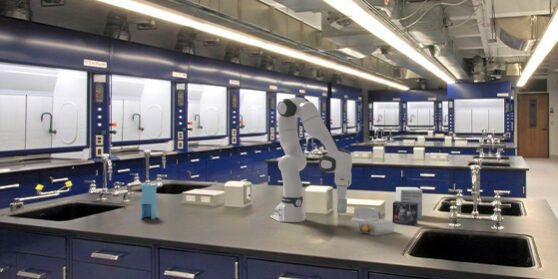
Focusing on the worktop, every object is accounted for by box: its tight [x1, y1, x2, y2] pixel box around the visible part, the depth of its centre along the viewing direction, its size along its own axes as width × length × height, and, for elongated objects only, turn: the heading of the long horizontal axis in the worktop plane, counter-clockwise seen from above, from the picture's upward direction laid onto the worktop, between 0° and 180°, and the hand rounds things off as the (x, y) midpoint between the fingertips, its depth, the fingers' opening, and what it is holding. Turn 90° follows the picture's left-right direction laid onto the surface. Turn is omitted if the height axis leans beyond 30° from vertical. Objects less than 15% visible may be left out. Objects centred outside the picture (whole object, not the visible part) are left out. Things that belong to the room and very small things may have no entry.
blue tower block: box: [139, 183, 159, 220], centre depth 272 cm, size 8×8×20 cm
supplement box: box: [395, 186, 423, 220], centre depth 280 cm, size 13×13×18 cm
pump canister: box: [336, 198, 348, 214], centre depth 243 cm, size 5×5×8 cm
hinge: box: [350, 206, 382, 224], centre depth 261 cm, size 17×5×10 cm, turn 55°
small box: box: [391, 200, 418, 226], centre depth 261 cm, size 13×7×12 cm, turn 62°
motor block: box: [358, 218, 395, 237], centre depth 239 cm, size 12×17×6 cm
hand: (341, 205), depth 243 cm, fingers closed on pump canister, 5 cm apart
